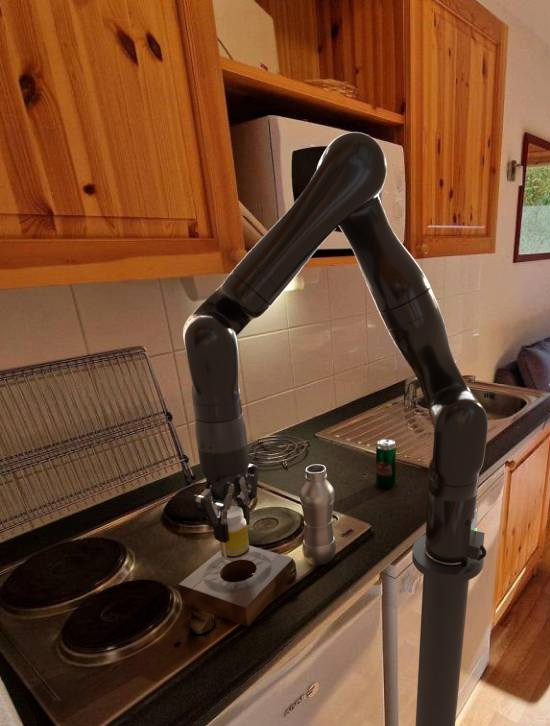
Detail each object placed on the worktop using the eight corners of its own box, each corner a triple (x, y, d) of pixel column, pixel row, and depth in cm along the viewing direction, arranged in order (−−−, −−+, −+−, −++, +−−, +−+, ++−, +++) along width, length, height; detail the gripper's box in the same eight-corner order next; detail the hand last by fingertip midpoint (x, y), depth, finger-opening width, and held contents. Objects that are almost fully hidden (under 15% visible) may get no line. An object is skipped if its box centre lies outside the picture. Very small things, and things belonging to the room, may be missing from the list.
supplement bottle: (255, 550, 85) (251, 509, 81) (235, 564, 81) (229, 522, 78) (236, 542, 87) (231, 501, 84) (215, 555, 83) (209, 514, 80)
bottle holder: (294, 575, 90) (293, 558, 89) (247, 626, 78) (245, 607, 77) (234, 557, 95) (232, 540, 94) (181, 602, 83) (178, 584, 82)
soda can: (373, 487, 122) (373, 444, 118) (379, 478, 127) (380, 437, 122) (392, 490, 121) (392, 447, 116) (397, 482, 125) (398, 439, 121)
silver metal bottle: (296, 559, 95) (290, 468, 87) (323, 545, 99) (319, 457, 92) (316, 574, 90) (311, 480, 83) (343, 559, 95) (341, 468, 87)
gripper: (209, 463, 68) (222, 562, 75) (269, 430, 81) (276, 516, 87) (169, 454, 71) (185, 550, 77) (233, 423, 83) (242, 507, 90)
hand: (233, 532), depth 82 cm, fingers closed on supplement bottle, 4 cm apart
